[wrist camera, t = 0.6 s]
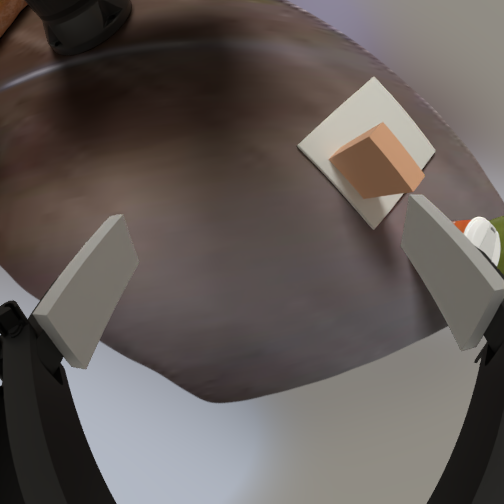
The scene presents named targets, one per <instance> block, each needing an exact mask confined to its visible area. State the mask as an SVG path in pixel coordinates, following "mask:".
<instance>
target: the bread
mask: <svg viewBox="0 0 504 504" xmlns="http://www.w3.org/2000/svg"><path fill="white" fill-rule="evenodd" d="M27 5H28V4H27V3H26V2H25V1H24V0H0V37H1V36H2V35H3V34H4V32H5V31H6V30H7V29H8V28H9V26H10V25H11V24H12V23H13V21H14V20H15V18H16V17H17V15H18V14H19V13H20V11H21V10H22V9H24V8H25V7H26V6H27Z"/></svg>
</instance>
